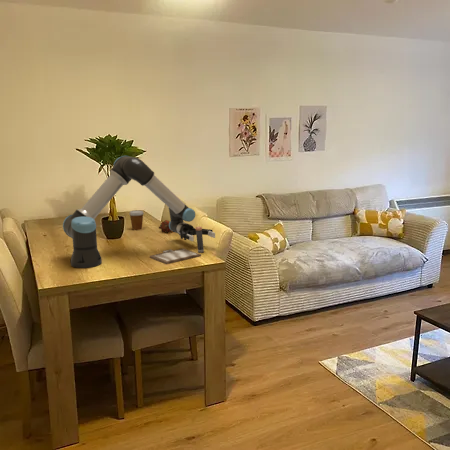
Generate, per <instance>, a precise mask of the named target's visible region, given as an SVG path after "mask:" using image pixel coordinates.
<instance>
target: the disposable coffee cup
mask: <svg viewBox="0 0 450 450" xmlns="http://www.w3.org/2000/svg"><path fill="white" fill-rule="evenodd" d="M129 217H130V223H131V228H132V231H133V230H134V231H139V230H143V221H144V220H143V219H144V211H143V210H137V209H136V210H130V211H129Z"/></svg>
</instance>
